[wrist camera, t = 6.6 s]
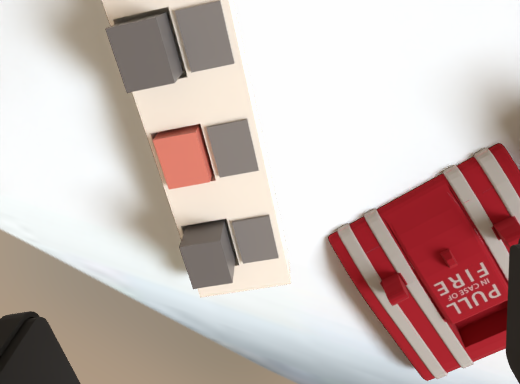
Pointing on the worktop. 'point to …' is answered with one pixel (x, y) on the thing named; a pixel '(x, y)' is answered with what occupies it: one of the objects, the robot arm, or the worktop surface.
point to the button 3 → (208, 254)
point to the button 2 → (183, 156)
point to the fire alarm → (441, 262)
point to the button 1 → (145, 52)
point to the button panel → (216, 136)
